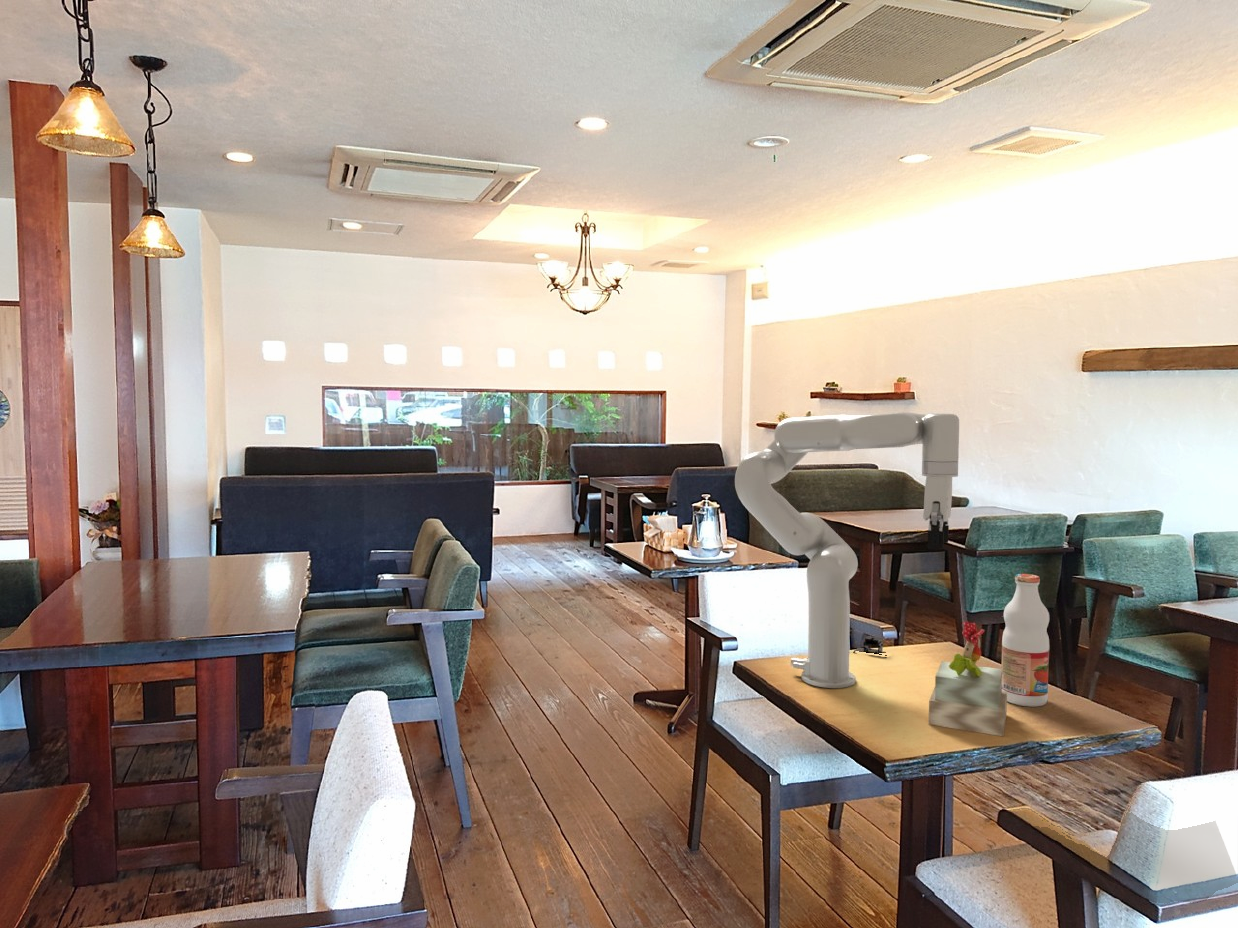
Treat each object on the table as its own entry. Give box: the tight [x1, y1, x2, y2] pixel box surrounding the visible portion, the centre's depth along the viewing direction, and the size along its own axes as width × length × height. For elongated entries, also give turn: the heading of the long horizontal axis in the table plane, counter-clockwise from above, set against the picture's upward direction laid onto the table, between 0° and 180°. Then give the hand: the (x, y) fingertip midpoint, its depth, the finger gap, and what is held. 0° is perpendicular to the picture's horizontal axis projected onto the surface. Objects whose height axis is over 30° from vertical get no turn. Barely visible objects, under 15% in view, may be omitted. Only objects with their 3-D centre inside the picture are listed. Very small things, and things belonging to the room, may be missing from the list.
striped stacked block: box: [928, 661, 1008, 737], centre depth 175 cm, size 14×13×10 cm
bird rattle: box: [949, 620, 985, 677], centre depth 174 cm, size 6×11×9 cm
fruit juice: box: [1000, 573, 1050, 708], centre depth 186 cm, size 9×9×28 cm
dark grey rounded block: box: [852, 635, 887, 656], centre depth 223 cm, size 12×7×5 cm, turn 55°
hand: (938, 545), depth 187 cm, fingers open, 9 cm apart
